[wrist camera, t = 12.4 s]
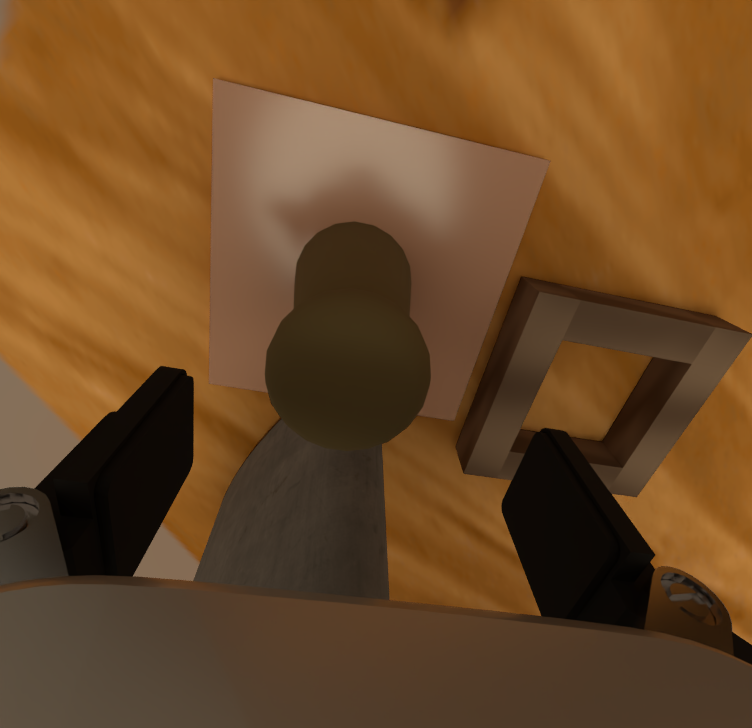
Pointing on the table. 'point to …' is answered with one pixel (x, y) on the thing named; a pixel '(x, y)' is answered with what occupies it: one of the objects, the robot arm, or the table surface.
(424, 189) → the terracotta tile
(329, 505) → the hip flask
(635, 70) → the table surface
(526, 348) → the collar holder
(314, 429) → the olive pawn shape
